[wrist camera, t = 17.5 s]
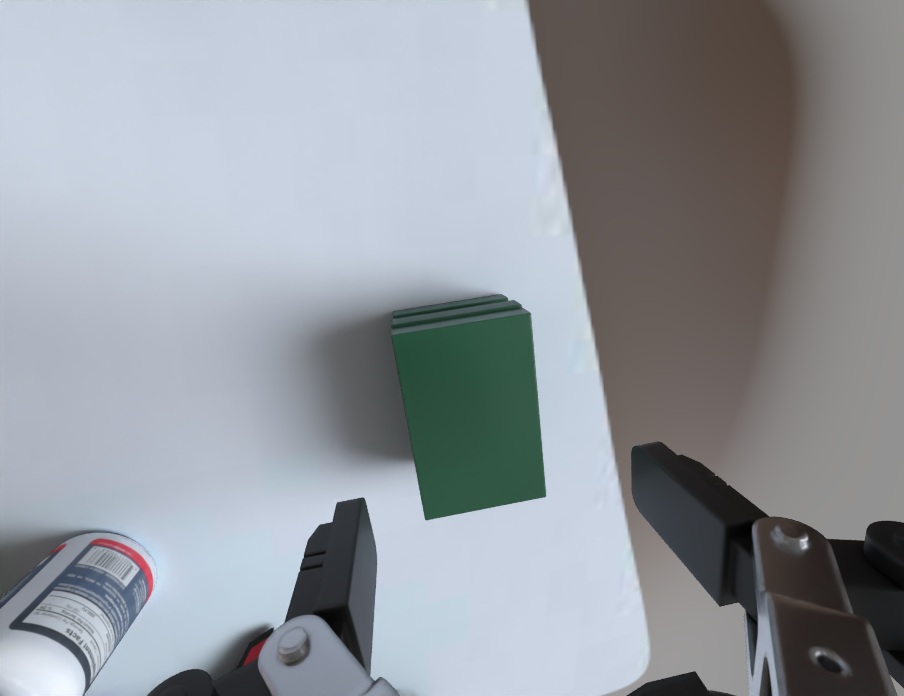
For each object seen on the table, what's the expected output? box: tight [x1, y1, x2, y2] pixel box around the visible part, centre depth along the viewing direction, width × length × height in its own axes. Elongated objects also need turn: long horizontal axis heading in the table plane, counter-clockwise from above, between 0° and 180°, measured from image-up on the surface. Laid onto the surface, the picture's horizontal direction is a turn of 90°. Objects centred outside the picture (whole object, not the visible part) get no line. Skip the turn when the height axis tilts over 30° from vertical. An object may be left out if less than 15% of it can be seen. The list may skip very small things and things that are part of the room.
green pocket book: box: [391, 308, 546, 520], centre depth 18 cm, size 8×6×1 cm, turn 8°
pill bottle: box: [0, 533, 157, 696], centre depth 18 cm, size 5×5×9 cm
